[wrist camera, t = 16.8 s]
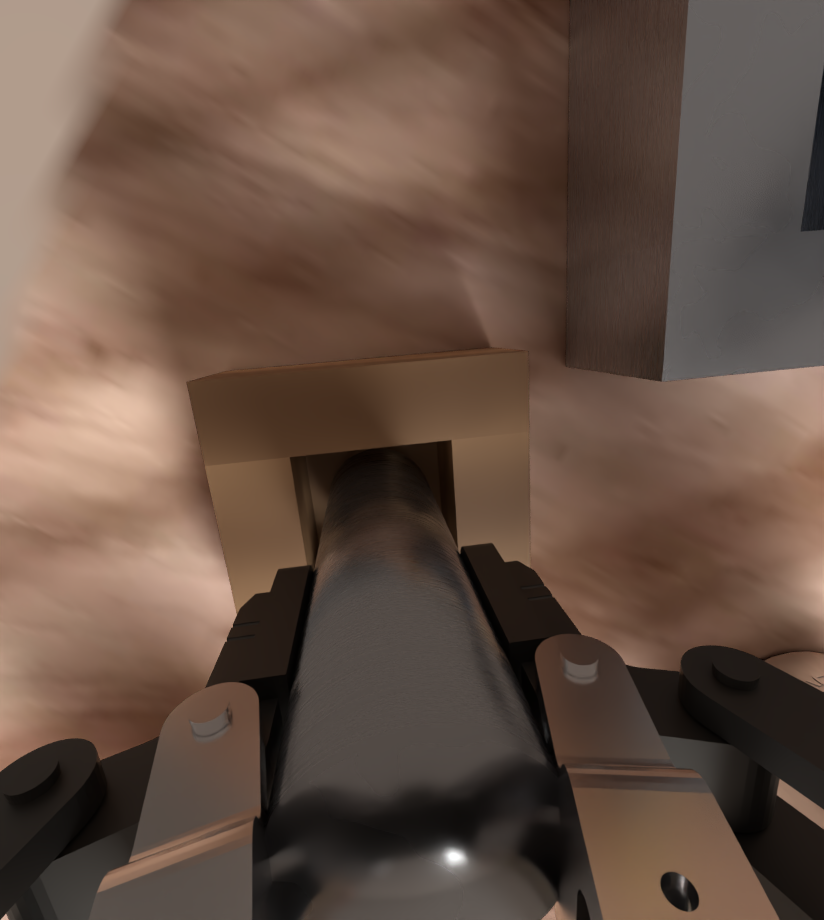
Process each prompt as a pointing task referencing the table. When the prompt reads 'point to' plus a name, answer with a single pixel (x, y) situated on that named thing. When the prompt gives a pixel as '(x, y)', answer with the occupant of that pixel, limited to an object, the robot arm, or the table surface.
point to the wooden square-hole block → (363, 449)
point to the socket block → (695, 187)
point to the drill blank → (406, 729)
